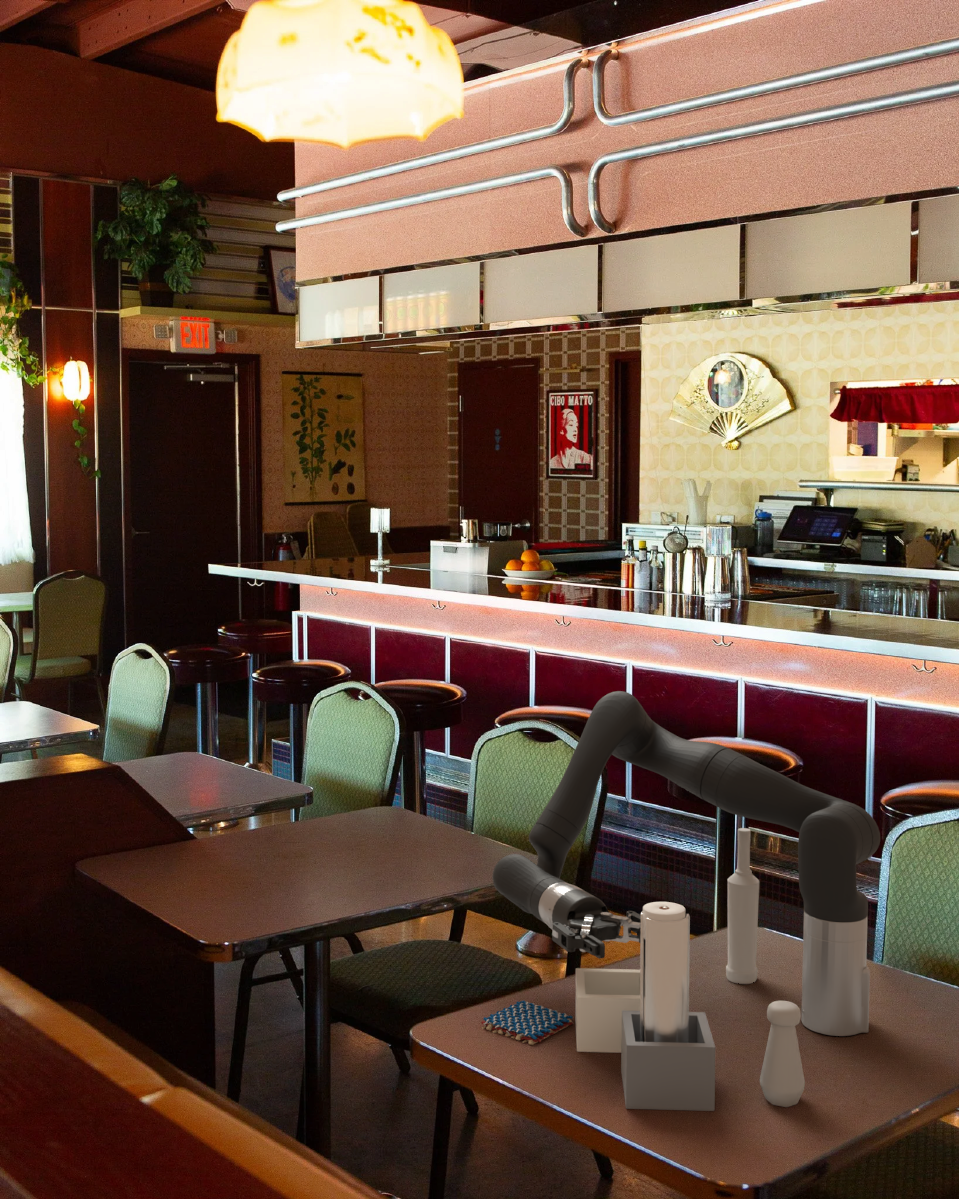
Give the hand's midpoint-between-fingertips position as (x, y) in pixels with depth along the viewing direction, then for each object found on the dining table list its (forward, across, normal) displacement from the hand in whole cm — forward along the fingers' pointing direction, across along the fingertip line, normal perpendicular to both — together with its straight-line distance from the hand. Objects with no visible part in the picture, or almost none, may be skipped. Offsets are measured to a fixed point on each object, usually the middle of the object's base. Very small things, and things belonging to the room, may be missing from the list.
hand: (629, 947), depth 182 cm
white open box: (-8, +3, +16) cm, 19 cm away
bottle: (-19, +33, +17) cm, 42 cm away
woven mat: (-17, -7, +17) cm, 25 cm away
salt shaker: (+18, +12, +17) cm, 28 cm away
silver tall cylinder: (+10, 0, +17) cm, 19 cm away
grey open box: (+10, 0, +16) cm, 19 cm away
